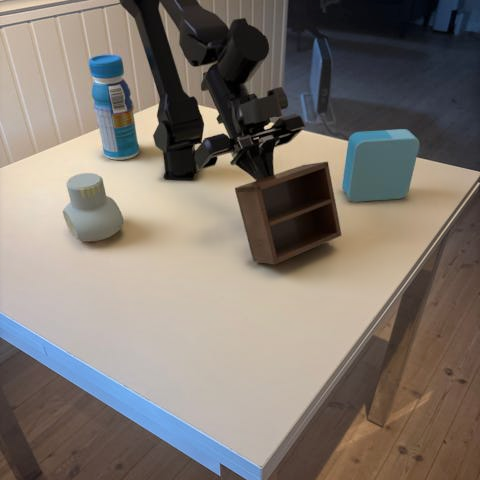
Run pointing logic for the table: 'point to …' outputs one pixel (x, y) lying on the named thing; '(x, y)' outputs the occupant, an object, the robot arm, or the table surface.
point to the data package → (379, 165)
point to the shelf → (289, 212)
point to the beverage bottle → (113, 107)
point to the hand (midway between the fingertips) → (271, 189)
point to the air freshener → (91, 209)
